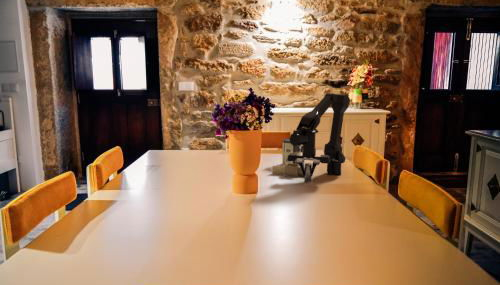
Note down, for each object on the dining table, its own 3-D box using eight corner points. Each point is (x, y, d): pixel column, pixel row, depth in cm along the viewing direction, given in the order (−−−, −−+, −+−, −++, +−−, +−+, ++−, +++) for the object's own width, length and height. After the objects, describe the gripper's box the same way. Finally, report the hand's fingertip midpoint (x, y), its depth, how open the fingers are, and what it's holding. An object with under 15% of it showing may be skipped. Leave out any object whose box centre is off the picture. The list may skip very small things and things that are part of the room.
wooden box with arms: (312, 174, 183) (313, 164, 182) (311, 178, 176) (311, 167, 176) (274, 171, 188) (274, 162, 187) (271, 175, 182) (271, 165, 181)
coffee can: (299, 162, 208) (300, 138, 205) (301, 167, 197) (302, 141, 195) (281, 162, 208) (281, 138, 205) (282, 167, 198) (282, 141, 195)
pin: (311, 179, 172) (312, 163, 170) (310, 181, 169) (311, 164, 167) (305, 179, 172) (305, 162, 171) (304, 181, 170) (304, 164, 168)
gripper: (331, 141, 173) (329, 173, 175) (291, 139, 178) (291, 170, 180) (329, 145, 162) (328, 179, 165) (287, 143, 167) (286, 176, 170)
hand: (308, 176), depth 170 cm, fingers closed on pin, 3 cm apart
